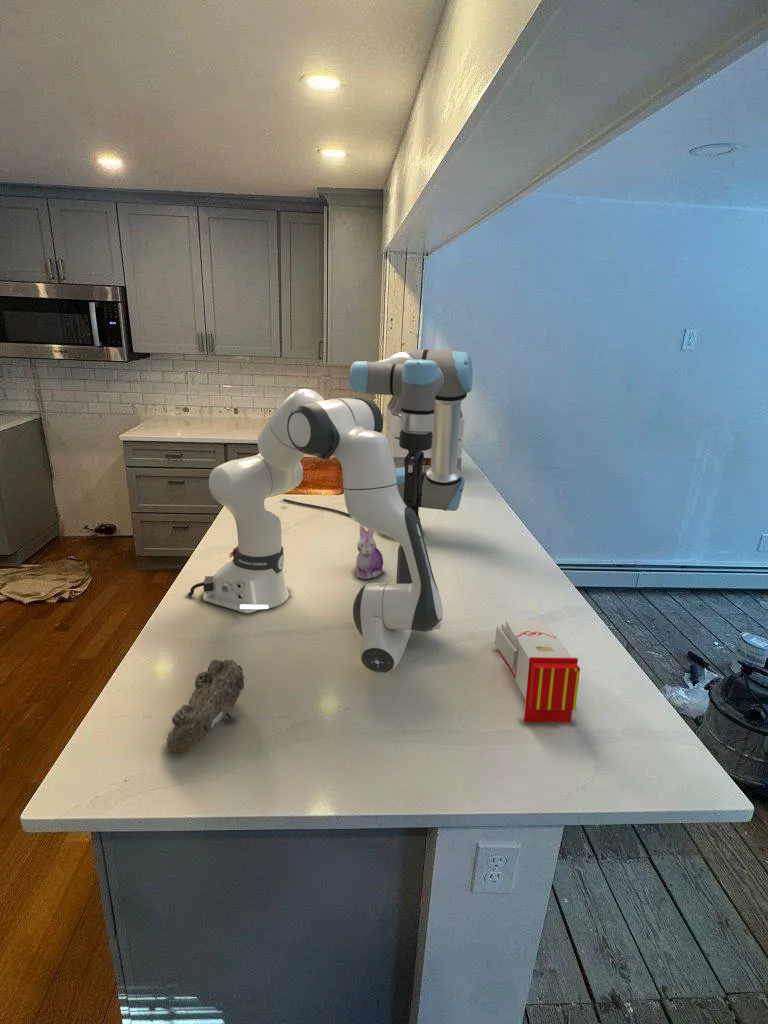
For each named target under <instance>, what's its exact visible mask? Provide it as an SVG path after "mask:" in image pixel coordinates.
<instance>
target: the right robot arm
mask: <svg viewBox="0 0 768 1024" xmlns="http://www.w3.org/2000/svg"><path fill="white" fill-rule="evenodd" d="M473 373H474V371H473V361H472V357H471V355H470V354H469V353H468V352H466V351H458V350H446V349H425V348H416V349H409V350H404V351H399V352H396V353H394V354H392V355H390V357H389V358H385V359H382V360H376V361H366V360H364V361H363V360H362V361H361V360H357V361H354V362H353V363H352V364H351V366H350V369H349V387H350V389H351V390H352V392H354V393H359V394H363V395H366V394H367V395H382V396H391V397H392V396H402V403H401V415H399V416H398V418H399V419H401V423H400V428H401V429H402V430H401V431H400V437H399V446H400V447H401V448H403V449H407V450H408V451H409V453H408V454H407V456H406V457H405V465H404V467H401V468H396V469H395V470H396V478H397V487H398V491H399V494H400V497H401V499H402V500H403V502H404V503H405V505H406V506H407V507H409V508H411V509H413V510H414V512H415V514H416V516H417V517H419V518H420V515H419V512H420V511H419V510H420V508H422V509H430V510H431V509H432V510H442V511H444V512H446V511H448V512H449V511H451V512H455V511H457V510H458V509H459V508H460V504H461V501H462V496H463V493H464V492H463V491H464V486H465V483H466V478H465V477H463V476H462V471H461V472H460V470H459V469H458V468H457V459H458V444H459V428H460V413H461V412H462V401H464V400H465V399H466V398H467V395H468V394H469V393H471V392H472V390H473V384H474V383H473V378H474V375H473ZM431 431H432V432H431ZM431 447H432V454H431V465H430V466H429V468H428V469H427V470H426V472H425V473H423V469H424V468H423V467H424V466H423V461H424V452H422V451H425V450H429V449H431ZM282 501H283V502H285V503H291V504H295V505H300V506H305V507H310V508H315V509H316V508H317V509H322V510H326V511H331V512H334V513H339V514H341V515H344V516H347V517H350V518H352V517H351V516H350V515H349V513H348V512H346V511H342V510H338V509H334V508H330V507H325V506H322V505H321V506H320V505H316V504H310V503H304V502H299V501H295V500H290V499H286V498H283V499H282ZM420 527H421V531H422V532H423V525H422V524H421V521H420ZM379 534H380V535H381V536H382V537H385V538H387V539H389V540H393V539H392V538H391V537H389V536H386V535H384V534H381V533H379Z"/></svg>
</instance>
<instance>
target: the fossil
mask: <svg viewBox="0 0 768 1024" xmlns="http://www.w3.org/2000/svg"><path fill="white" fill-rule="evenodd" d="M243 670H244V669H243V667H242V665H240V664H237V662H236V661H235V660H234V659H232V658H231V659H227V658H226V659H224V660H223V661H222V660H217V659H212V660H211V661H210V663H209V665H208V666H207V671H201V672H199V673H198V674H197V675H196V676H195V680H194V684H195V685H194V687H195V689H194V690H193V693H192V694H191V697H190V698H189V700H188V704H184V705H182V706H181V707H180V709H177V710H176V711H175V713H174V715H173V716H172V718H171V723H172V724H173V727H172V730H171V731H170V732H168V734H167V738H166V741H167V742H166V745H167V749H168V750H169V751H173V752H174V753H176V754H178V753H182V752H188V751H189V752H192V751H193V750H195V748H196V747H197V746H199V744H200V743H201V742H203V741H204V740H205V739H206V738H207V737H208V736H209V735H210V734H211V733H212V732H214V730H215V729H217V727H218V726H219V724H220V722H221V721H222V720H223V719H224V718H225V716H226V717H227V719H229V720H233V717H232V715H230V714H229V710H230V709H231V708H234V706H235V704H236V703H237V702H238V699H239V697H240V695H241V693H242V691H243V690H245V689H244V688H245V675H244V671H243Z"/></svg>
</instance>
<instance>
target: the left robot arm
mask: <svg viewBox="0 0 768 1024" xmlns="http://www.w3.org/2000/svg"><path fill="white" fill-rule="evenodd" d="M383 429H384V418H383V414H382V411H381V410H380V407H379V406H378V405H377V404H376V403H375V402H373V401H372V400H369V399H366V398H362V397H352V398H349V397H340V398H339V397H338V398H337V397H336V398H331V399H325V398H324V397H323V396H322V395H321V394H319V393H318V392H317V391H315V390H312V389H309V388H300V389H296V390H295V391H293V392H292V393H291V394H290V395H289V396H287V397H286V398H285V400H284V401H283V402H282V403H281V404H280V405H279V406H278V407H277V408H276V410H275V411H274V412H273V414H272V415H271V416H270V418H269V420H268V421H267V422H266V423H265V426H263V429H262V430H261V432H260V433H259V435H258V437H257V441H256V443H257V449H258V452H259V453H257V454H255V455H251V456H247V457H246V456H245V457H243V458H237V459H232V460H229V461H227V462H224V463H222V464H220V465H218V466H215V467H214V468H213V469H212V470H211V472H210V474H209V478H208V488H209V492H210V494H211V496H212V498H213V499H214V500H215V501H216V502H217V503H218V504H220V505H221V506H224V507H225V508H226V509H227V510H229V512H230V513H231V514H232V517H233V519H234V522H235V525H236V526H235V527H236V532H237V546H236V547H234V548H233V549H232V551H231V552H230V553H229V558H230V559H231V558H233V559H231V560H230V561H229V562H227V563H225V564H223V566H221V567H220V568H219V569H218V570H217V571H216V572H215V573H214V575H208V576H207V575H206V576H205V577H204V580H203V581H202V582H198V583H195V584H194V585H192V586H191V588H190V591H189V592H188V593H187V595H188V596H189V597H191V596H193V595H194V593H195V590H196V589H197V588H200V587H203V594H202V600H203V601H205V602H208V603H210V604H214V605H217V606H221V607H224V608H227V609H230V610H233V611H237V612H240V613H243V614H251V613H255V612H258V611H260V610H268V609H272V608H276V607H278V606H281V605H282V604H284V603H286V601H287V600H288V599H289V597H290V594H289V591H288V587H287V583H286V579H285V574H284V566H285V556H284V555H285V552H284V546H283V545H282V544H283V543H282V542H283V541H282V540H283V539H282V538H283V537H282V522H281V520H280V518H279V517H278V515H277V514H275V513H274V512H272V511H269V510H267V509H266V507H265V499H268V498H272V497H277V496H280V495H285V494H286V493H287V492H290V491H292V490H293V489H295V488H297V487H298V486H300V485H301V483H302V481H303V478H304V468H303V464H302V462H301V460H302V459H303V458H304V457H305V455H309V456H314V457H317V458H319V459H321V460H324V461H328V460H329V459H330V458H331V457H332V456H333V457H334V458H335V459H336V460H337V461H338V462H339V464H340V467H341V474H342V488H343V497H344V498H343V499H344V504H345V507H346V511H347V513H348V514H349V515H350V516H351V517H350V516H349V517H350V518H351V519H352V520H354V522H356V523H357V524H358V525H359V526H363V527H364V528H365V529H367V530H369V529H370V530H372V531H374V533H379V534H380V533H381V534H384V535H386V536H389V537H391V538H392V539H391V540H394V541H395V542H397V543H398V544H399V545H401V546H402V547H403V549H404V551H405V555H406V559H407V563H408V566H409V570H410V574H411V578H412V582H413V583H410V584H396V583H390V582H374V583H373V582H371V583H370V582H369V583H366V584H364V585H363V586H362V587H361V588H360V589H359V591H358V592H357V594H356V596H355V598H354V601H353V605H352V616H353V617H352V618H353V621H354V625H355V627H356V629H357V631H358V633H359V634H360V636H361V637H362V643H361V648H360V661H361V663H362V665H363V666H364V667H365V668H366V669H368V670H369V671H371V672H373V673H377V674H379V673H380V674H387V673H389V672H391V671H393V670H394V669H395V668H396V667H397V665H398V664H399V663H400V661H401V660H402V657H403V655H404V653H405V650H406V648H407V643H408V641H409V639H410V638H411V635H412V632H413V631H414V632H419V633H420V632H421V633H428V632H433V631H435V630H440V628H441V625H442V620H443V614H444V613H443V612H444V608H443V600H442V598H441V595H440V591H439V588H438V585H437V583H436V579H435V576H434V573H433V569H432V565H431V561H430V557H429V554H428V553H429V552H428V549H427V546H426V541H425V538H424V534H423V530H422V531H421V527H420V524H419V521H418V518H417V516H416V514H415V512H414V510H413V509H411V508H409V507H407V506H406V505H405V503H404V502H403V500H402V499H401V497H400V494H399V491H398V487H397V478H396V470H395V464H394V459H393V455H392V451H391V447H390V444H389V441H388V439H387V438H386V435H384V434H383V433H382V432H383ZM381 534H380V535H381Z"/></svg>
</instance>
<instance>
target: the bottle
mask: <svg viewBox="0 0 768 1024" xmlns="http://www.w3.org/2000/svg"><path fill="white" fill-rule="evenodd" d="M410 583H413V582H412V578H411V574H410V570H409V566H408V563H407V559H406V555H405V551H404V549H403V547H402V546H401V545H400V544H399V545H398V548H397V559H396V580H395V584H410Z"/></svg>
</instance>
